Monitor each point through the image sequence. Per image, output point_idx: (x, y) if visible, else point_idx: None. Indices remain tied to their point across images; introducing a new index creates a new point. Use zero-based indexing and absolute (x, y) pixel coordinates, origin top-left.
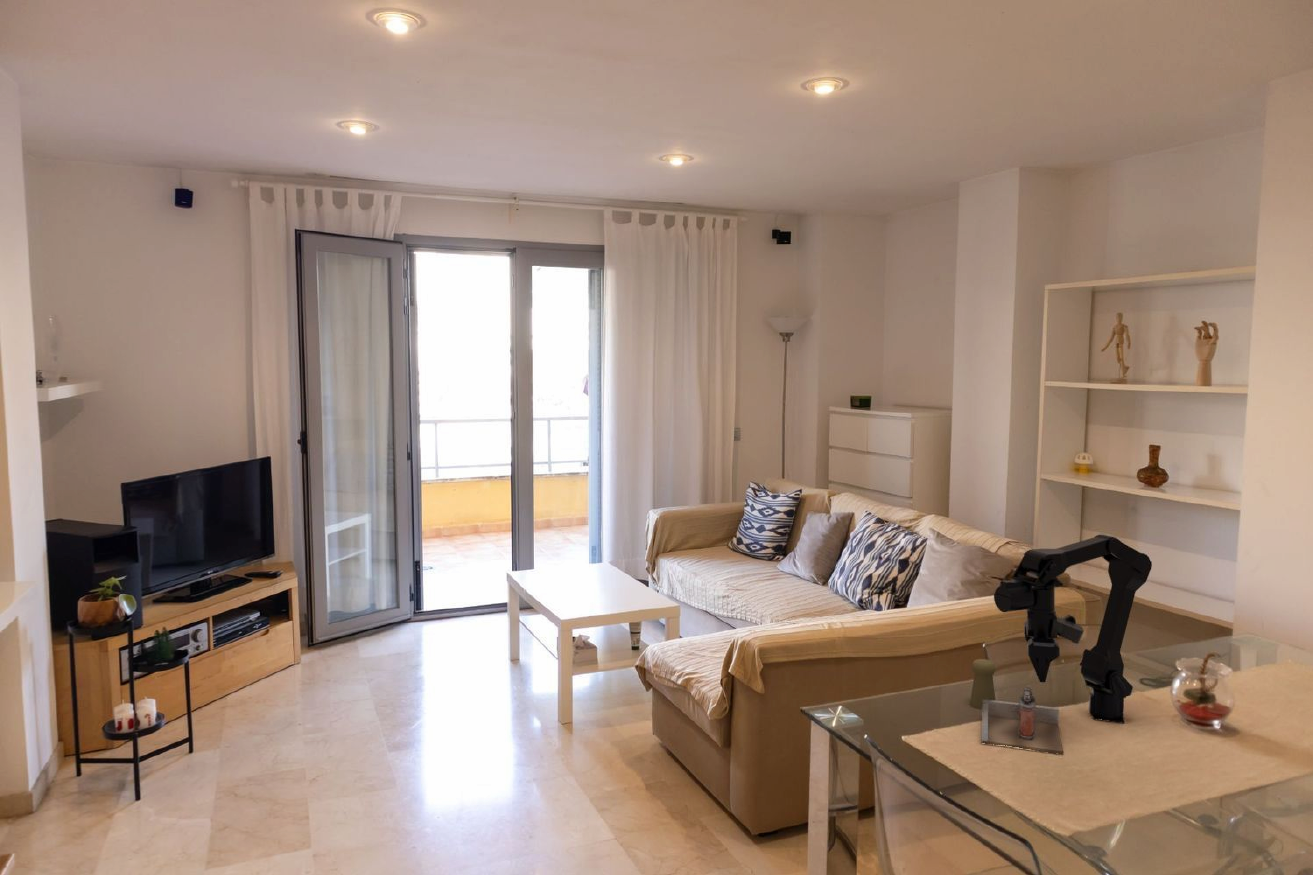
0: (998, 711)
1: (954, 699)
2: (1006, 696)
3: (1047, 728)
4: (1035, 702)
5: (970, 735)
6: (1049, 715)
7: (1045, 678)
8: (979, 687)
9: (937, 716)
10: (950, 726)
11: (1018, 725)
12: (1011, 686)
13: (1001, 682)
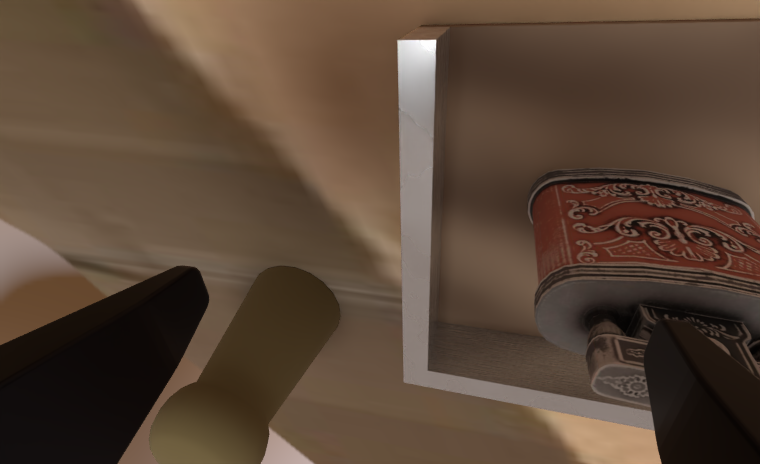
0: (435, 308)
1: None
2: (165, 220)
3: (525, 95)
4: (735, 290)
5: None
6: (440, 91)
7: (731, 365)
8: (296, 381)
9: (463, 433)
10: (547, 421)
11: (516, 229)
12: (56, 191)
13: (46, 220)
